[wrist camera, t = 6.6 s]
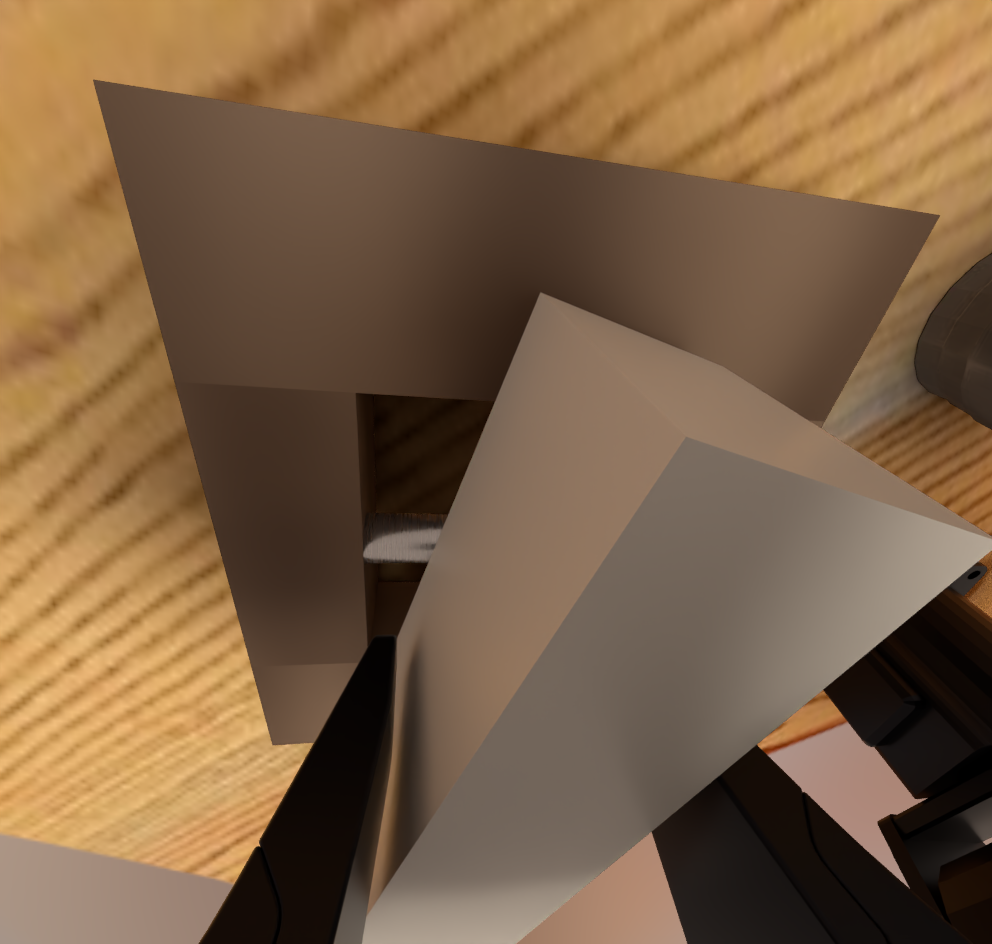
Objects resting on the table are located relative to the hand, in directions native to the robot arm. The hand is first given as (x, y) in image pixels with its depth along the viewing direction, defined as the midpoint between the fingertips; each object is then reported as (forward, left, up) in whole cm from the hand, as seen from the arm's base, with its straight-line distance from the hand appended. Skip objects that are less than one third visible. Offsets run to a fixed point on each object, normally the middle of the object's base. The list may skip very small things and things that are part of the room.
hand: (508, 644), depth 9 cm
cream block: (0, 0, -1) cm, 1 cm away
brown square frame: (0, 0, -6) cm, 6 cm away
